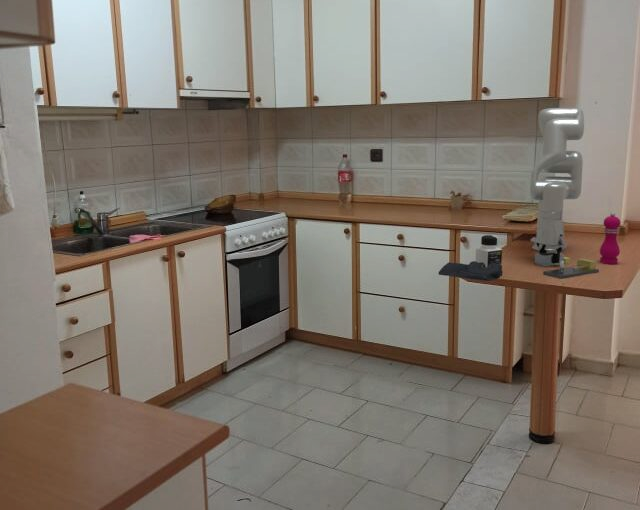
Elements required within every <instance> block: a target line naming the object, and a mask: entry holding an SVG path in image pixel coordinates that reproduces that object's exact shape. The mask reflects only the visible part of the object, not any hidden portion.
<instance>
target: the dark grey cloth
mask: <svg viewBox="0 0 640 510" xmlns="http://www.w3.org/2000/svg"><path fill="white" fill-rule="evenodd" d="M475 261H476V260H473V261H472V260H471V261H470V262H469V264H468V263H467V264H466V263H461V262H460V263H459V262H451V261H449V262H446V264H444V265H443V266H442V267H441V268H440V269H439V271H438V276H444V277H445V276H446V277H447V276H448V277H453V278H460V279H461V278H462V279H467V280H468V279H469V280H476V281H477V280H479V281H486V282H490V281H495V280H496V279H499V278H501V277H502V276H503V266H502V264H489V265H488V267H487V268H486V267H485V264H484V263H483V262H480V263H478V262H475ZM500 276H501V277H500Z"/></svg>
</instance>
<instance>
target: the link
mask: <svg viewBox="0 0 640 510" xmlns="http://www.w3.org/2000/svg"><path fill="white" fill-rule="evenodd" d="M553 253H554V252H546V253H539V252H538V253H535V254H534V265H539V266H542V267H546V268H549V267H552V266H554V265H555V266H560V261H563V259H564V257H565V254H564V253H562V252H561V253H560V260H559V263H555V264H554V263H552V262H553Z"/></svg>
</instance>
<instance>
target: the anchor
mask: <svg viewBox="0 0 640 510" xmlns="http://www.w3.org/2000/svg"><path fill="white" fill-rule="evenodd" d="M563 261H564V265H566V264H571V257H568V256H564V259H563Z"/></svg>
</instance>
